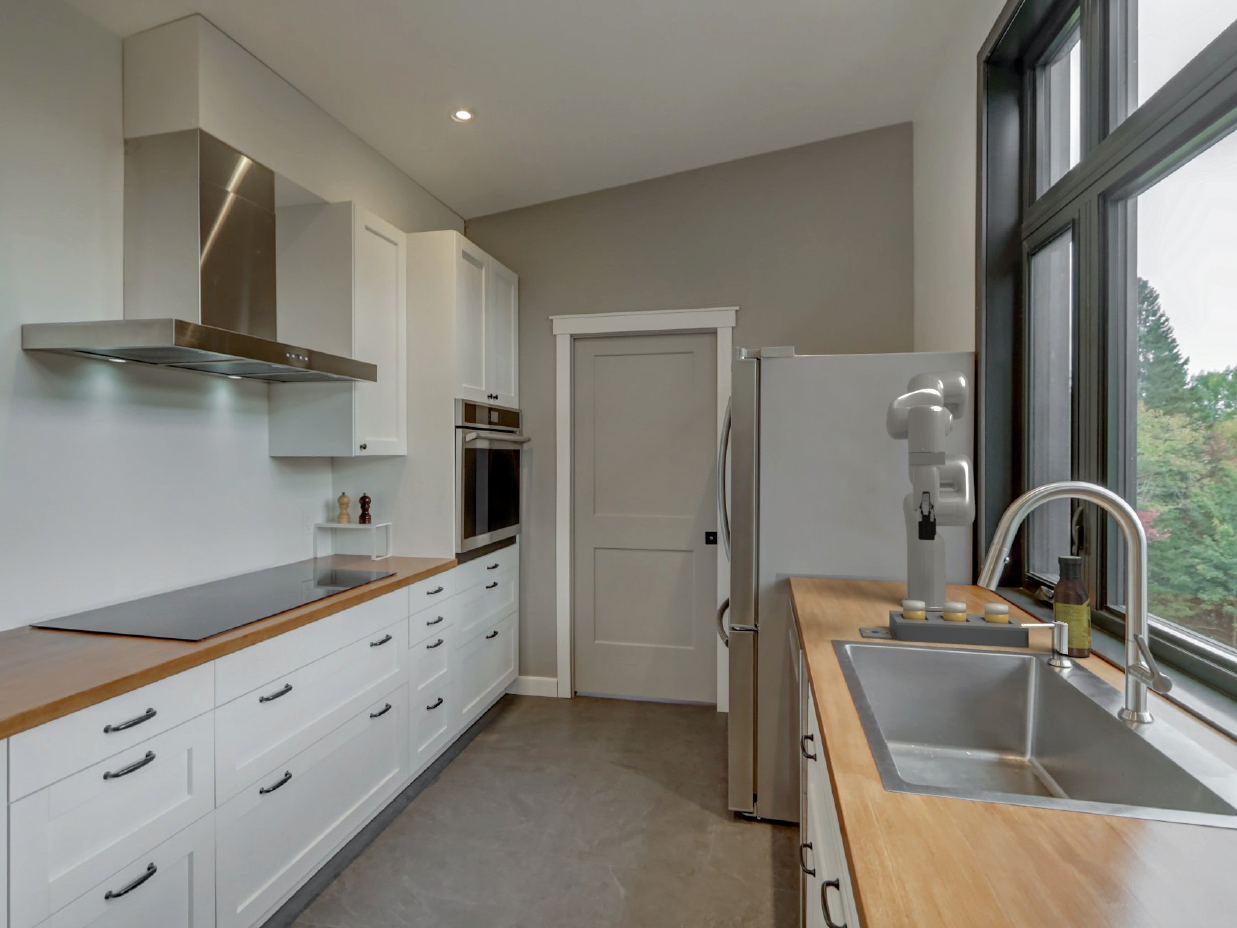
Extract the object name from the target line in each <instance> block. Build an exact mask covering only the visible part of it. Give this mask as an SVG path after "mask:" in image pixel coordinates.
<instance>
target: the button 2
mask: <svg viewBox="0 0 1237 928" xmlns="http://www.w3.org/2000/svg"><path fill="white" fill-rule="evenodd" d="M984 614H985V622H986V623H1000V624H1009V620H1008V615H1009V605H1008V604H1003V603H997V602H995V603H994V602H992V603H991V602H989V603H984Z"/></svg>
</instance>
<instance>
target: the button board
mask: <svg viewBox="0 0 1237 928" xmlns="http://www.w3.org/2000/svg"><path fill="white" fill-rule="evenodd" d="M888 613H889V615H888V616H889V617H888V619H889V620H888V622H889V627H888V628H889V629H890V630H891V633H892V634H893V636H894V637H895V639H896V641H898V642H899V641H901V642H916V643H917V642H918V643H919V642H921V643H936V644H937V643H938V644H956V645H960V644H961V645H971V646H973V645H974V646H991V647H993V646H994V647H995V646H996V647H1010V648H1011V647H1012V648H1030V643H1029V642H1030V641H1029V640H1030V634H1029V633H1030V632H1029V627H1028V628H1020V627H1019V625H1020V624H1023V623H1022V622H1020V621H1019V620H1017V618H1015V617H1014V616H1012V615H1011V614H1010V615H1009V614H1008V620H1009V624H1000V623H986V622H985V613H984V614H981V613H966V622H956V621H944V620H943V612H942V611H925V620H912V619H903V610H891V609H890V610H888Z"/></svg>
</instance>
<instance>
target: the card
mask: <svg viewBox="0 0 1237 928" xmlns="http://www.w3.org/2000/svg"><path fill="white" fill-rule="evenodd" d="M859 631H860V632H861V635H862V638H863V639H880V640H881V639H882V640H892V639H893V638H892V635H891V634H890V631H889V630H888V628H882V627H881V628H880V627H879V628H878V627H864V626H863V627H859Z"/></svg>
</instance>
